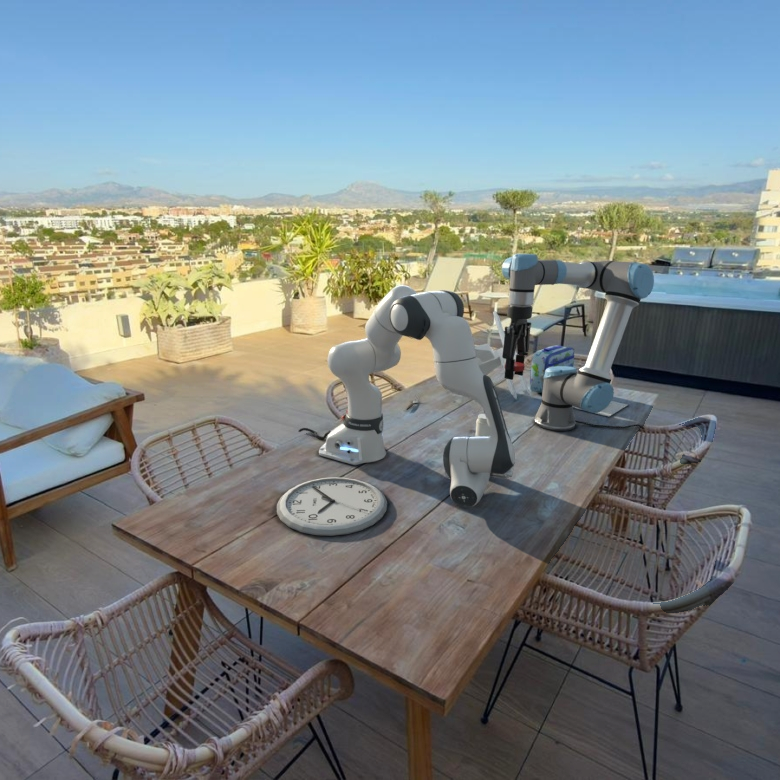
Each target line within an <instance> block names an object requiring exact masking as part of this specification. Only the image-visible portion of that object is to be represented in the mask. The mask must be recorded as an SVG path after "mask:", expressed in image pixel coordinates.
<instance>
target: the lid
mask: <svg viewBox="0 0 780 780" xmlns="http://www.w3.org/2000/svg"><path fill="white" fill-rule="evenodd" d="M505 365H506V363H505ZM525 368H526V367H525V363H524V364H523V363H520V362H515V365H514V372H515V371H516V372H518V371H523V372H524V371H525Z"/></svg>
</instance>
